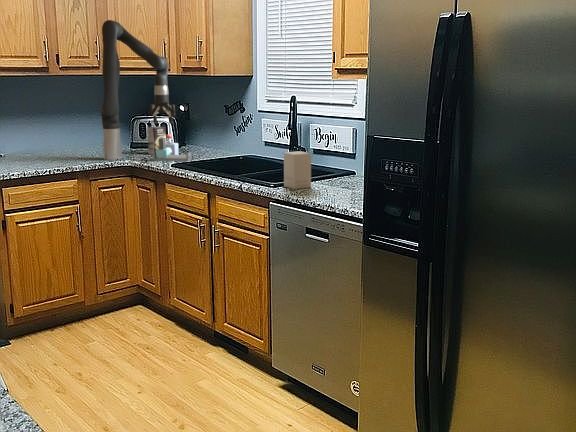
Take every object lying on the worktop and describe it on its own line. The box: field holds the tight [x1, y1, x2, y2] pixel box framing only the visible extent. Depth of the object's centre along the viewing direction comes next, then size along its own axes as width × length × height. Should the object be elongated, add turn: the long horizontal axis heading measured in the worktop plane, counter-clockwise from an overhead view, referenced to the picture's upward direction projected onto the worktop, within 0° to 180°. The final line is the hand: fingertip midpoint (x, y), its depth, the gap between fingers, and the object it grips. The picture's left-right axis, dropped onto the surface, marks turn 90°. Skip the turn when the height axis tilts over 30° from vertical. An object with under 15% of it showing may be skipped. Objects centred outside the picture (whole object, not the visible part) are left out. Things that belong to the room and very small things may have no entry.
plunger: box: [166, 133, 173, 144], centre depth 363 cm, size 3×3×6 cm
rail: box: [152, 151, 192, 162], centre depth 354 cm, size 20×6×4 cm, turn 82°
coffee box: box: [147, 126, 167, 156], centre depth 378 cm, size 9×6×16 cm
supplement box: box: [283, 150, 312, 190], centre depth 275 cm, size 9×9×15 cm
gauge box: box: [166, 142, 180, 155], centre depth 364 cm, size 8×8×8 cm
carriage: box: [156, 138, 169, 158], centre depth 353 cm, size 6×5×10 cm
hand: (163, 123), depth 353 cm, fingers open, 8 cm apart
